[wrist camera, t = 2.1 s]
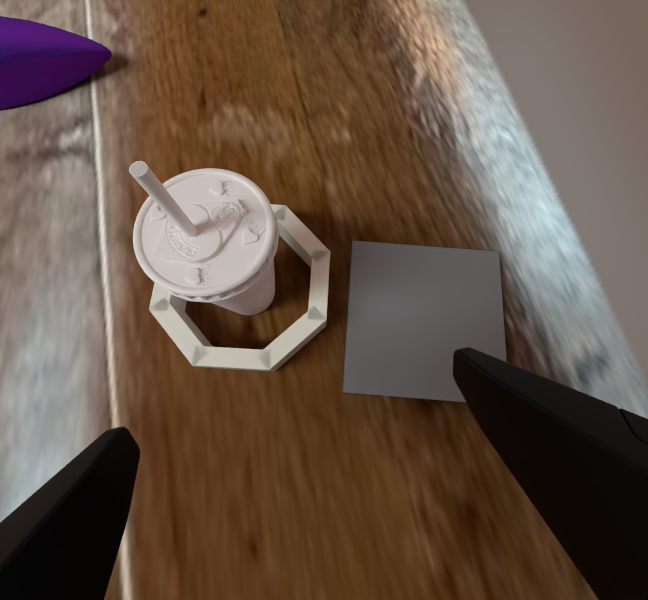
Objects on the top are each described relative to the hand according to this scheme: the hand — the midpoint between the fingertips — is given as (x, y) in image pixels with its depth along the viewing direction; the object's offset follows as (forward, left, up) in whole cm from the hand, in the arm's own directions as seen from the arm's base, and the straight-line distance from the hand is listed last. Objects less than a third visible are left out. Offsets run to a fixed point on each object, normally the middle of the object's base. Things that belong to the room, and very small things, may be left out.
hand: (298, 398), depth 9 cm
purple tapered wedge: (-1, +36, -14) cm, 39 cm away
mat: (+9, -2, -13) cm, 16 cm away
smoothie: (+1, +8, -14) cm, 16 cm away
